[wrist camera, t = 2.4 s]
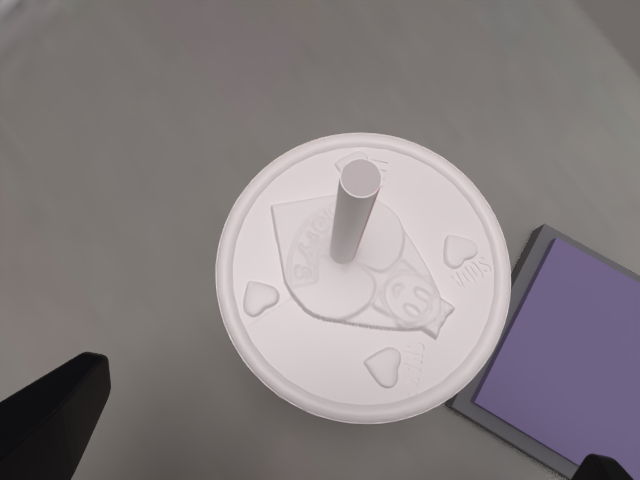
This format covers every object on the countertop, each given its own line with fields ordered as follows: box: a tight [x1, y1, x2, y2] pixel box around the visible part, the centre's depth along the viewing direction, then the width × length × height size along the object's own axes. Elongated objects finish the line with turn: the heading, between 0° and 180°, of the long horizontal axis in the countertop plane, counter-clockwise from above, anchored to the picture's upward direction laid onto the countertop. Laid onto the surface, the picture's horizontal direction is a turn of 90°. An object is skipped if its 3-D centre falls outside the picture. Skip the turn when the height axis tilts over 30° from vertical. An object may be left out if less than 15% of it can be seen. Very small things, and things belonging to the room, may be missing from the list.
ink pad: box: [445, 224, 640, 480], centre depth 19 cm, size 8×8×2 cm
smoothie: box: [216, 133, 511, 424], centre depth 13 cm, size 6×6×14 cm
